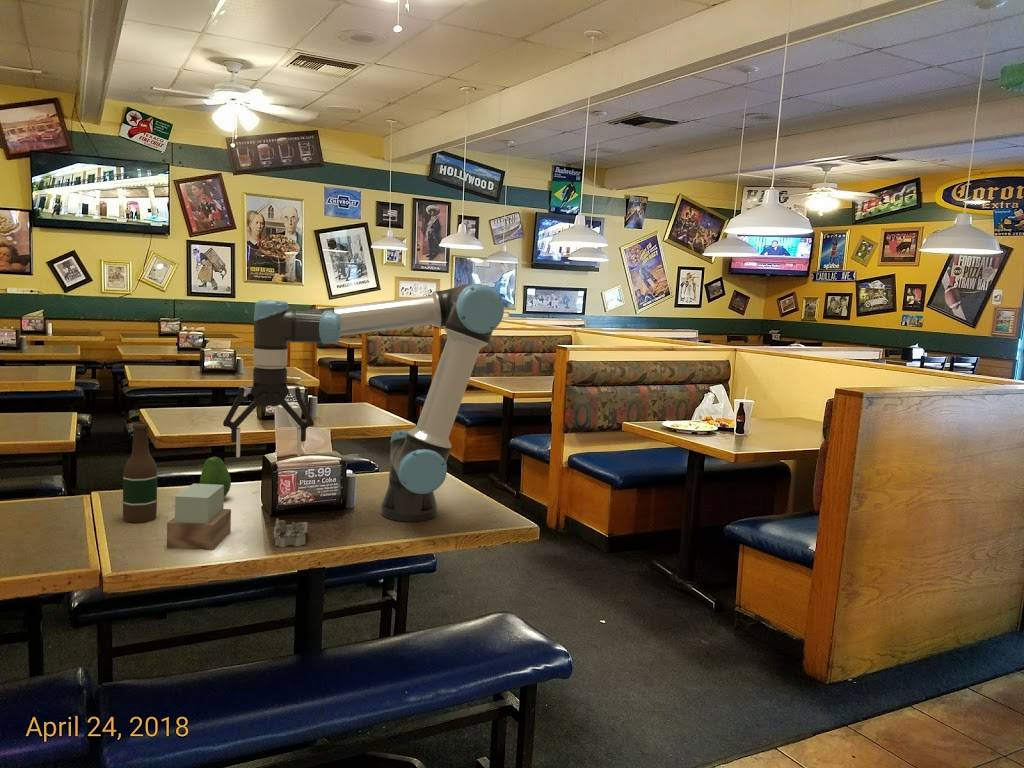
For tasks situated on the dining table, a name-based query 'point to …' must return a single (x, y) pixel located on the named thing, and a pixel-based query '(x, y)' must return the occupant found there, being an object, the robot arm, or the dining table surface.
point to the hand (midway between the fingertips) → (268, 455)
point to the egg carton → (290, 533)
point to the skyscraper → (286, 416)
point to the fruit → (216, 474)
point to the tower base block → (199, 532)
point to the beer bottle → (140, 479)
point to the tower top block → (199, 503)
